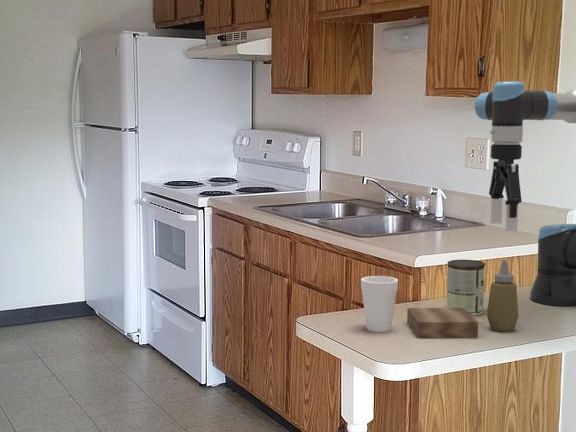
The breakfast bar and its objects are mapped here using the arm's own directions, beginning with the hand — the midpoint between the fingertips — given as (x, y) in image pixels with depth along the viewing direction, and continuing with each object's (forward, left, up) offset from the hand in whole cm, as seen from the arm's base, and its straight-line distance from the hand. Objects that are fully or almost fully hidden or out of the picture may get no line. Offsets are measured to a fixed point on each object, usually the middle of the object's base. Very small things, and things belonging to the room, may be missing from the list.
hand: (503, 227), depth 204 cm
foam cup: (+32, -1, -27) cm, 41 cm away
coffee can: (+5, -19, -27) cm, 33 cm away
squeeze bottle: (0, 0, -27) cm, 27 cm away
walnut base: (+16, +1, -27) cm, 31 cm away
